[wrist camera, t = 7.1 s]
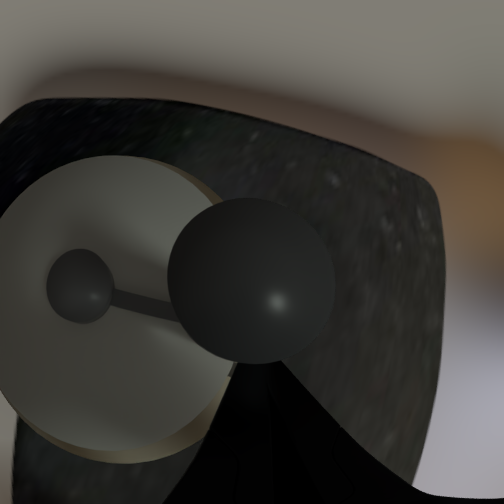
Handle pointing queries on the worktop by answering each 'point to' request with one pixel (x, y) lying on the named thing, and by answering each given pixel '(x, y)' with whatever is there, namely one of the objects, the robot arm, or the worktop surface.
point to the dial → (146, 298)
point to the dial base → (176, 440)
